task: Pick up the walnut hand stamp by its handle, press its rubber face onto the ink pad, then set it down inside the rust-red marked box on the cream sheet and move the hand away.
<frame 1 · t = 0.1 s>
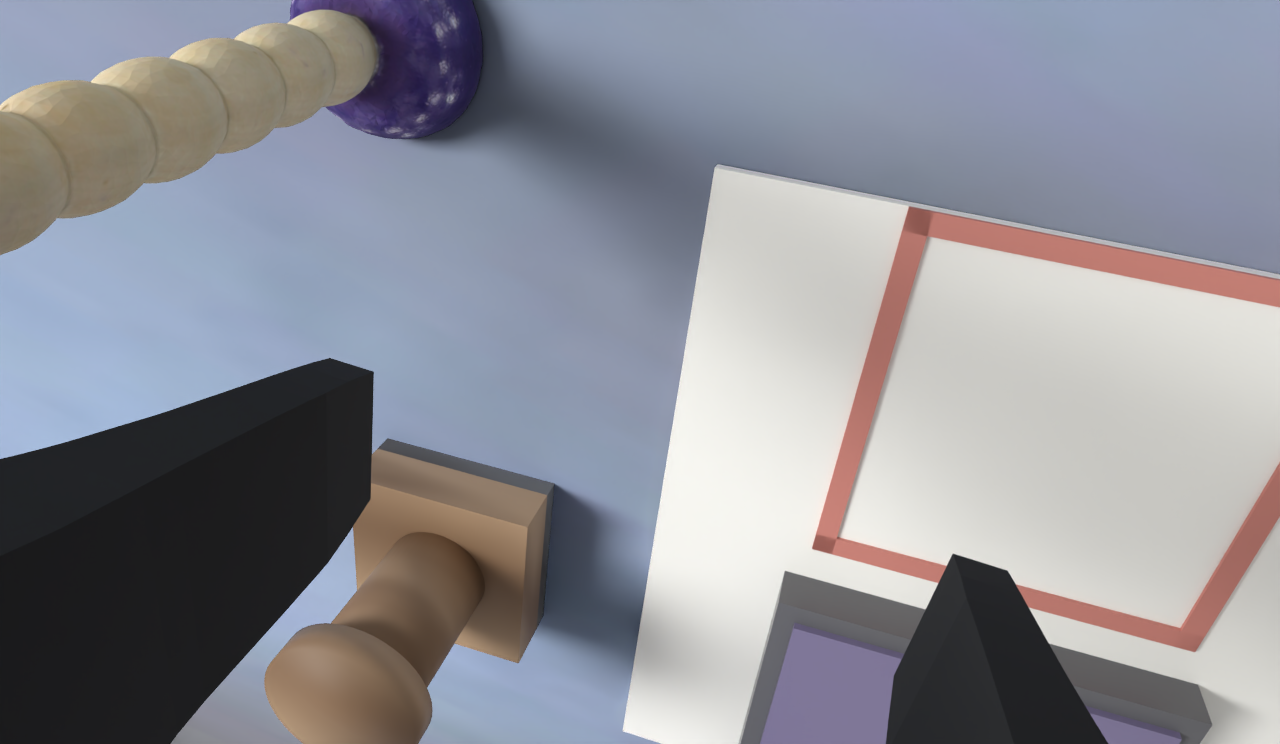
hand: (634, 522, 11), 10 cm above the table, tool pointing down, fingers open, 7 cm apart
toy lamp: (398, 53, 19), on the table
ink pad: (936, 721, 24), resting on paper sheet
stamp: (468, 528, 26), on the table
paper sheet: (995, 587, 22), on the table
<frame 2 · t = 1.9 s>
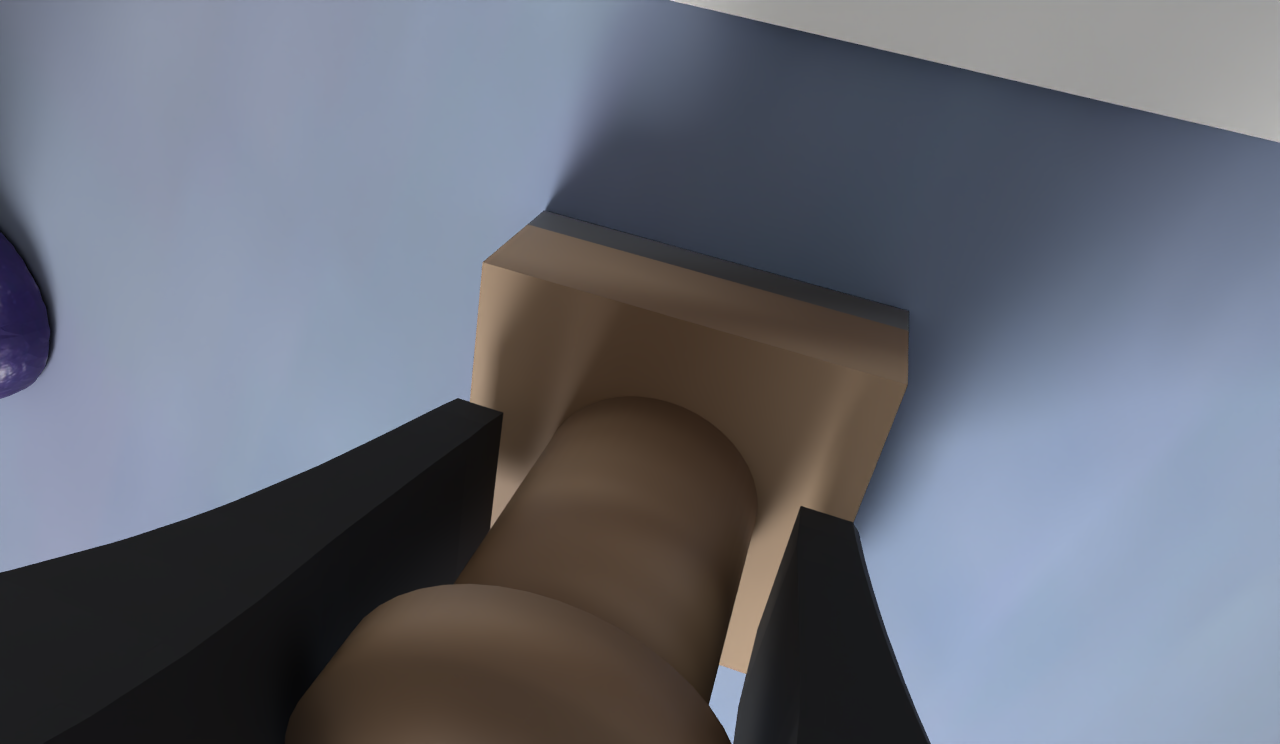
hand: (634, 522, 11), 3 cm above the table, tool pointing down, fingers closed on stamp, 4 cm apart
stamp: (683, 414, 13), on the table, touching gripper
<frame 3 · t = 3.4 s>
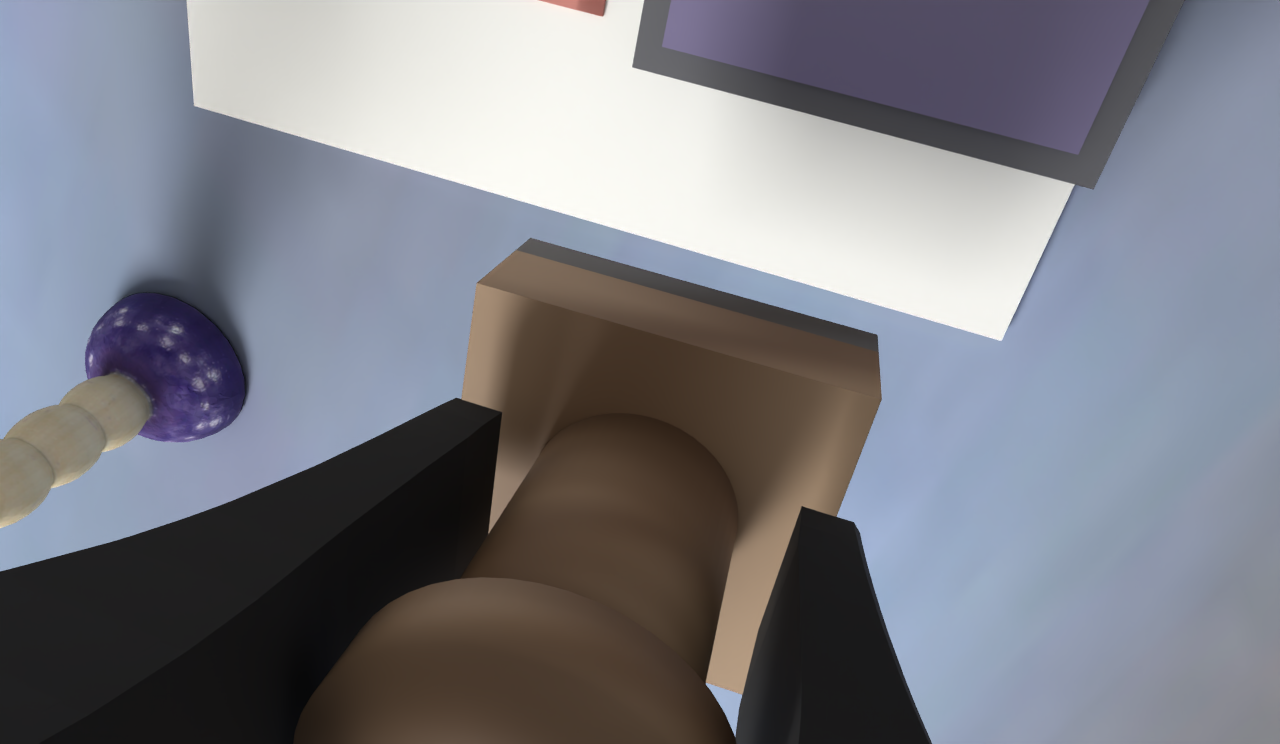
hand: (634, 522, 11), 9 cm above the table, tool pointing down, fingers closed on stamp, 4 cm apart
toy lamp: (194, 365, 24), on the table
stamp: (661, 436, 13), point 6 cm above the table, touching gripper
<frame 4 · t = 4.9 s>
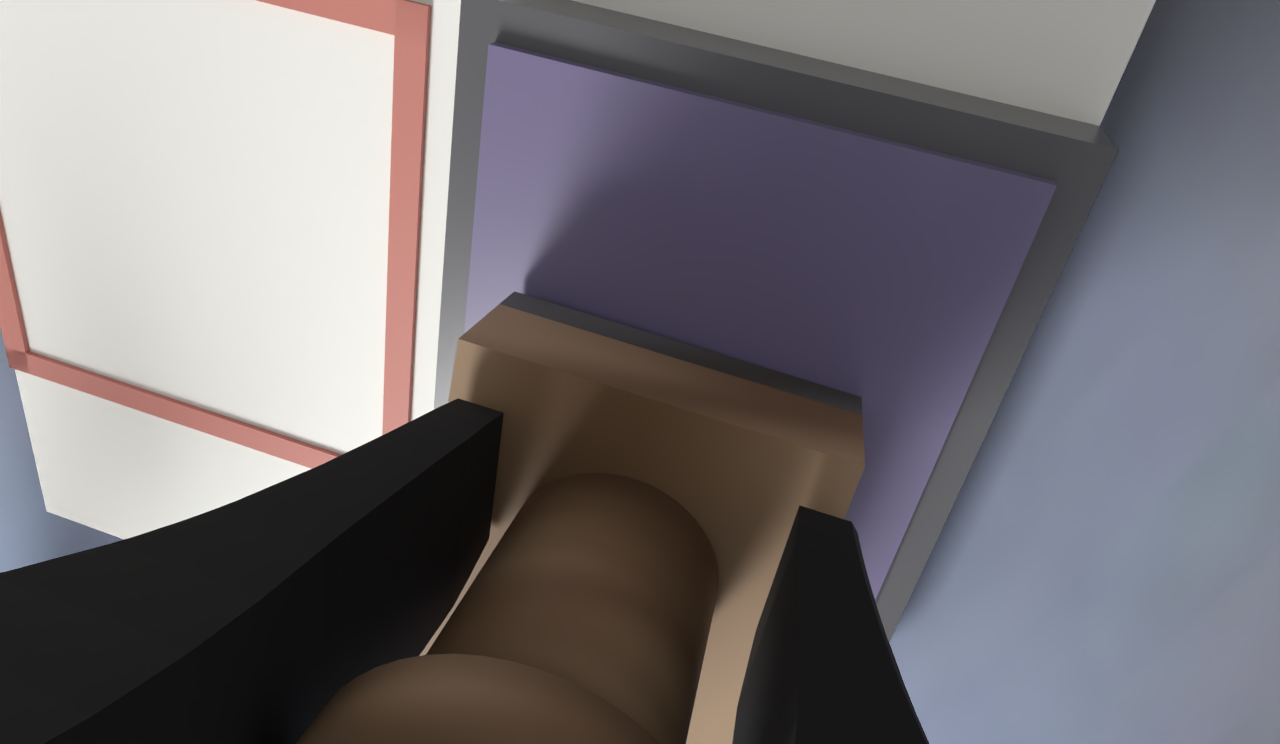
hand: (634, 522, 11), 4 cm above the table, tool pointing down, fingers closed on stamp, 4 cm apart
ink pad: (707, 366, 14), resting on paper sheet
stamp: (642, 492, 13), point 2 cm above the table, tilted 7°, touching gripper, ink pad
paper sheet: (425, 282, 15), on the table
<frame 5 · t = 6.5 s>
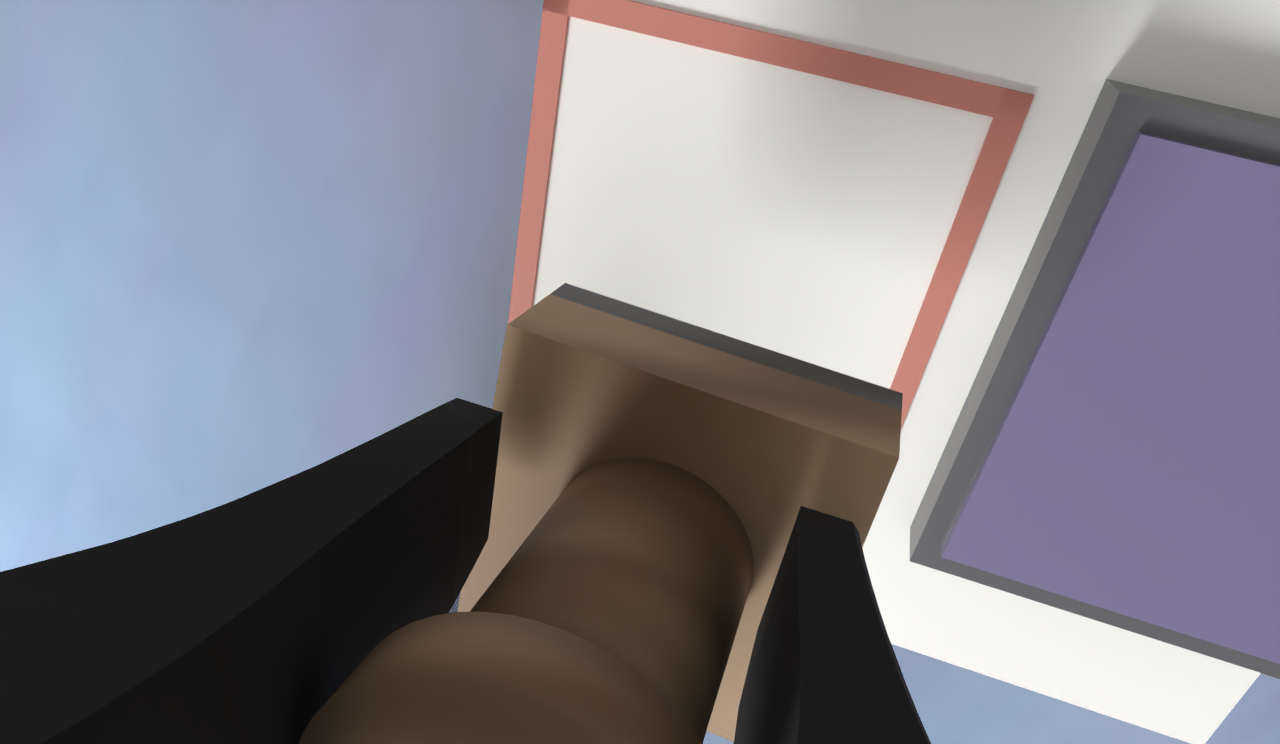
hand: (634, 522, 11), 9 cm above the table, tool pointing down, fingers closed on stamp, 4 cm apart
ink pad: (1201, 386, 17), resting on paper sheet
stamp: (684, 483, 13), point 6 cm above the table, tilted 7°, touching gripper
paper sheet: (942, 316, 18), on the table
when the fingers open (4 cm above the table, at t = 7.9 s): stamp stays where it is, resting on paper sheet.
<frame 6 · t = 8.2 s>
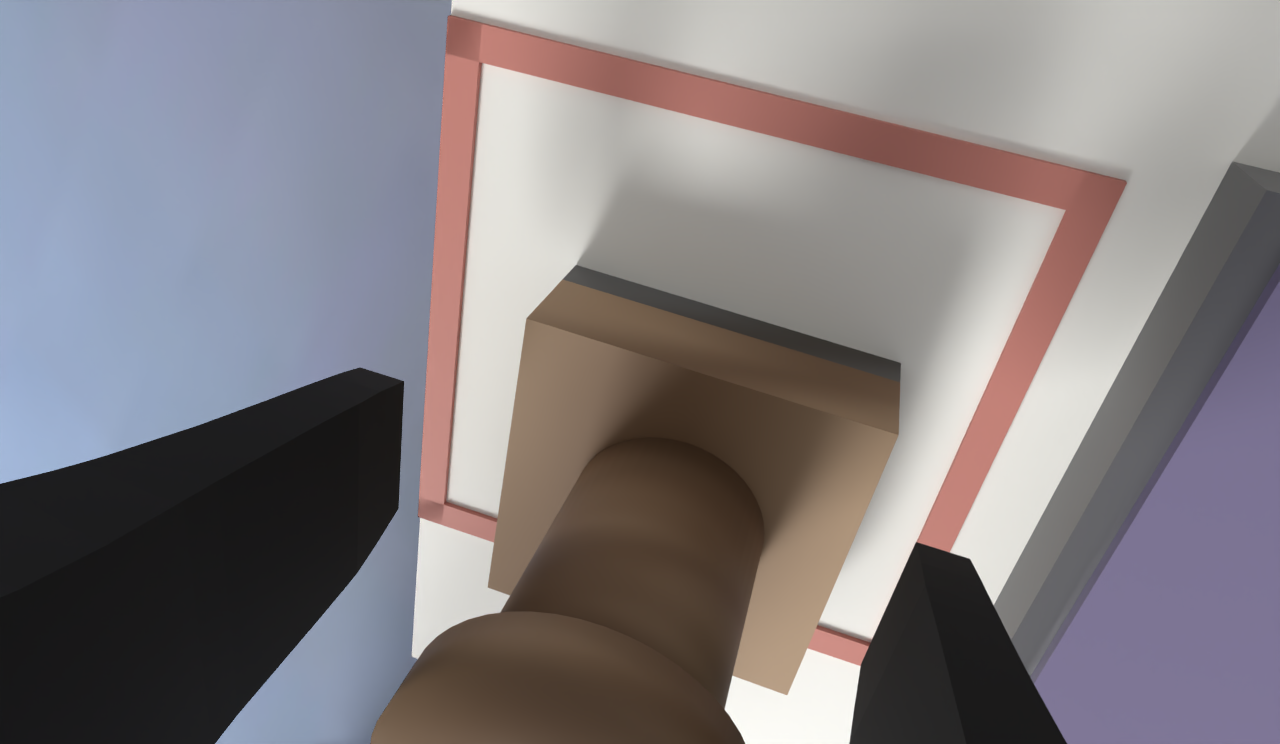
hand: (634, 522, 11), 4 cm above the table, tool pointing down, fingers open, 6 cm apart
stamp: (696, 446, 14), resting on paper sheet
paper sheet: (985, 458, 13), on the table
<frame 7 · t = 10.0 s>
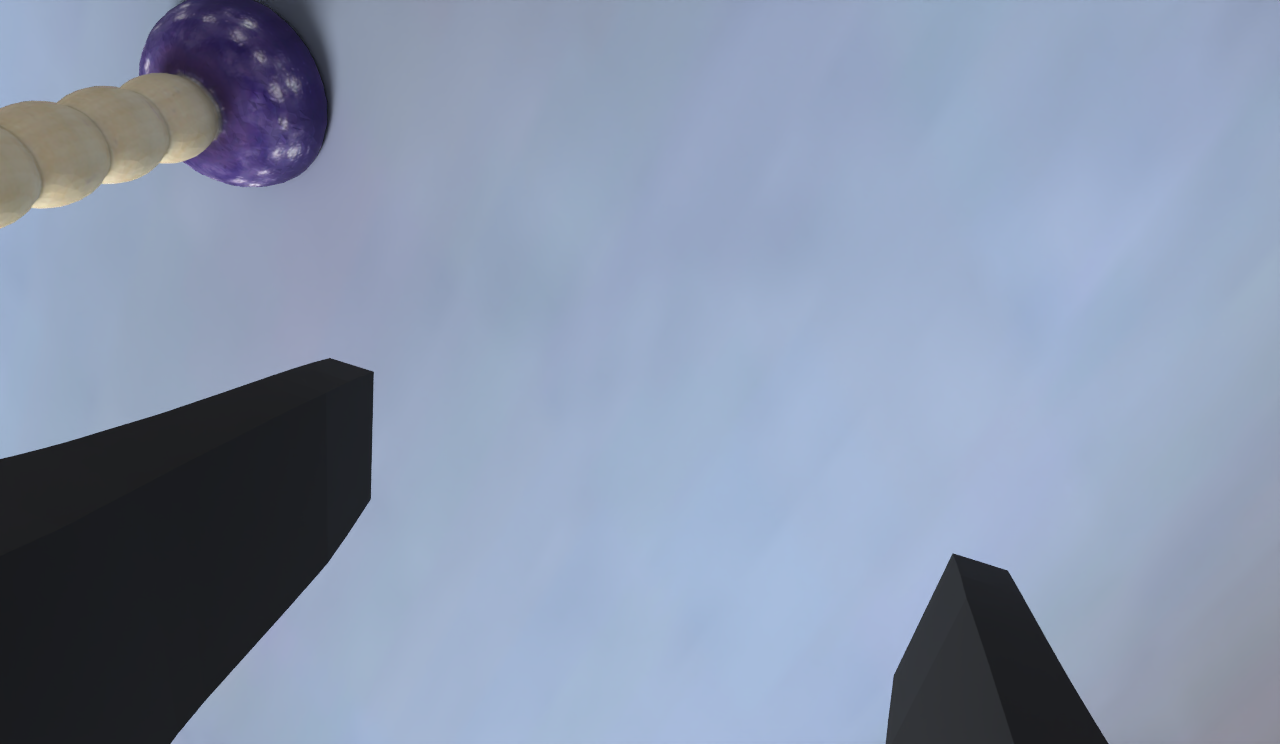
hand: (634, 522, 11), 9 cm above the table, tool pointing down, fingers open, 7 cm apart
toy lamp: (265, 95, 20), on the table
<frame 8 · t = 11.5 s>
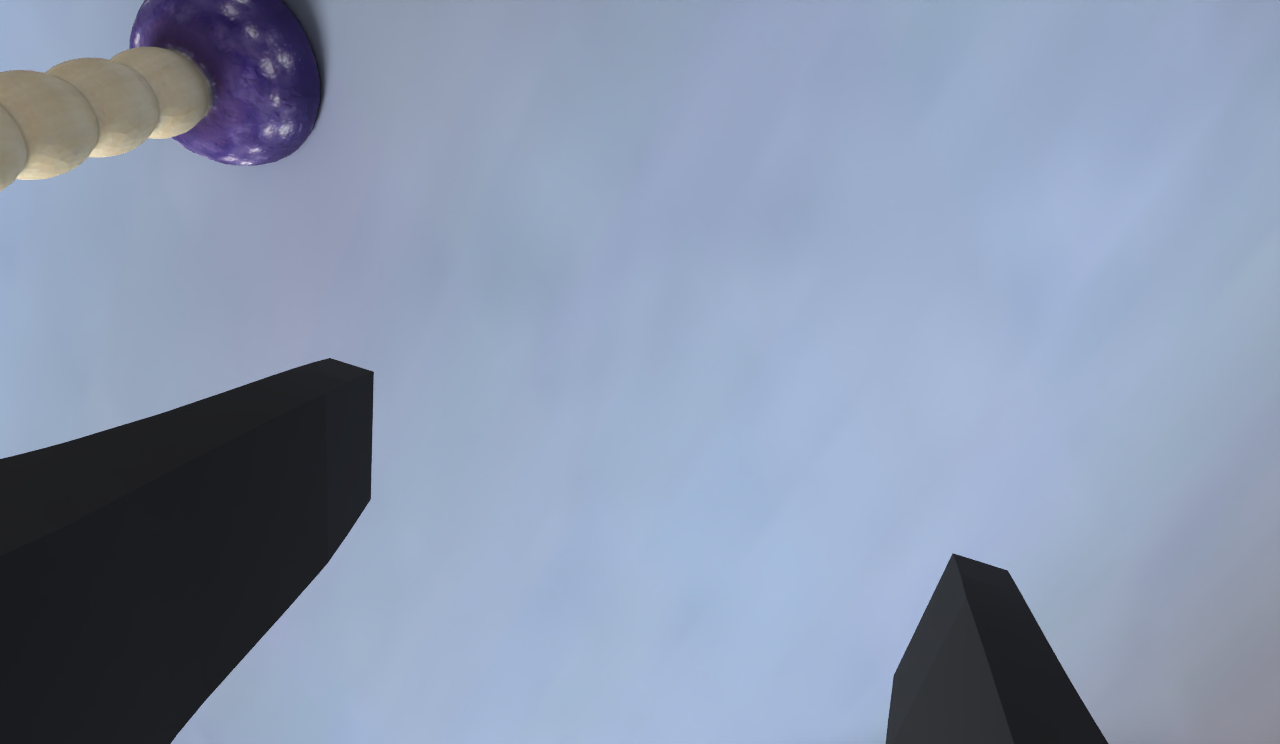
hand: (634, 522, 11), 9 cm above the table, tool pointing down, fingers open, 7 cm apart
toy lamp: (257, 72, 20), on the table
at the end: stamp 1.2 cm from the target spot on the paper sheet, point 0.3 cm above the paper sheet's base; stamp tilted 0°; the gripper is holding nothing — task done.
